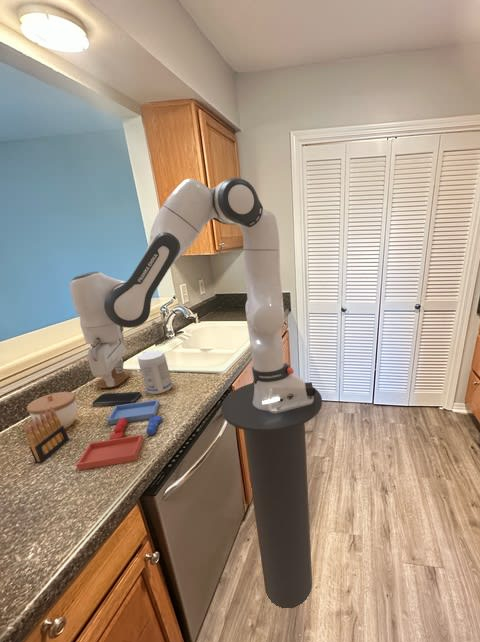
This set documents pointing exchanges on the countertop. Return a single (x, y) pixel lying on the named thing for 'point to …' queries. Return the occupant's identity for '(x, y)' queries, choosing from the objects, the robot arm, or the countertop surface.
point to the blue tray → (134, 411)
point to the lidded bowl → (55, 407)
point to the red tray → (110, 452)
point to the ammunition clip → (45, 435)
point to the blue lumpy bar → (153, 424)
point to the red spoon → (119, 429)
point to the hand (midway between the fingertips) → (116, 378)
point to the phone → (116, 398)
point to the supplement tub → (155, 372)
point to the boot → (117, 377)
